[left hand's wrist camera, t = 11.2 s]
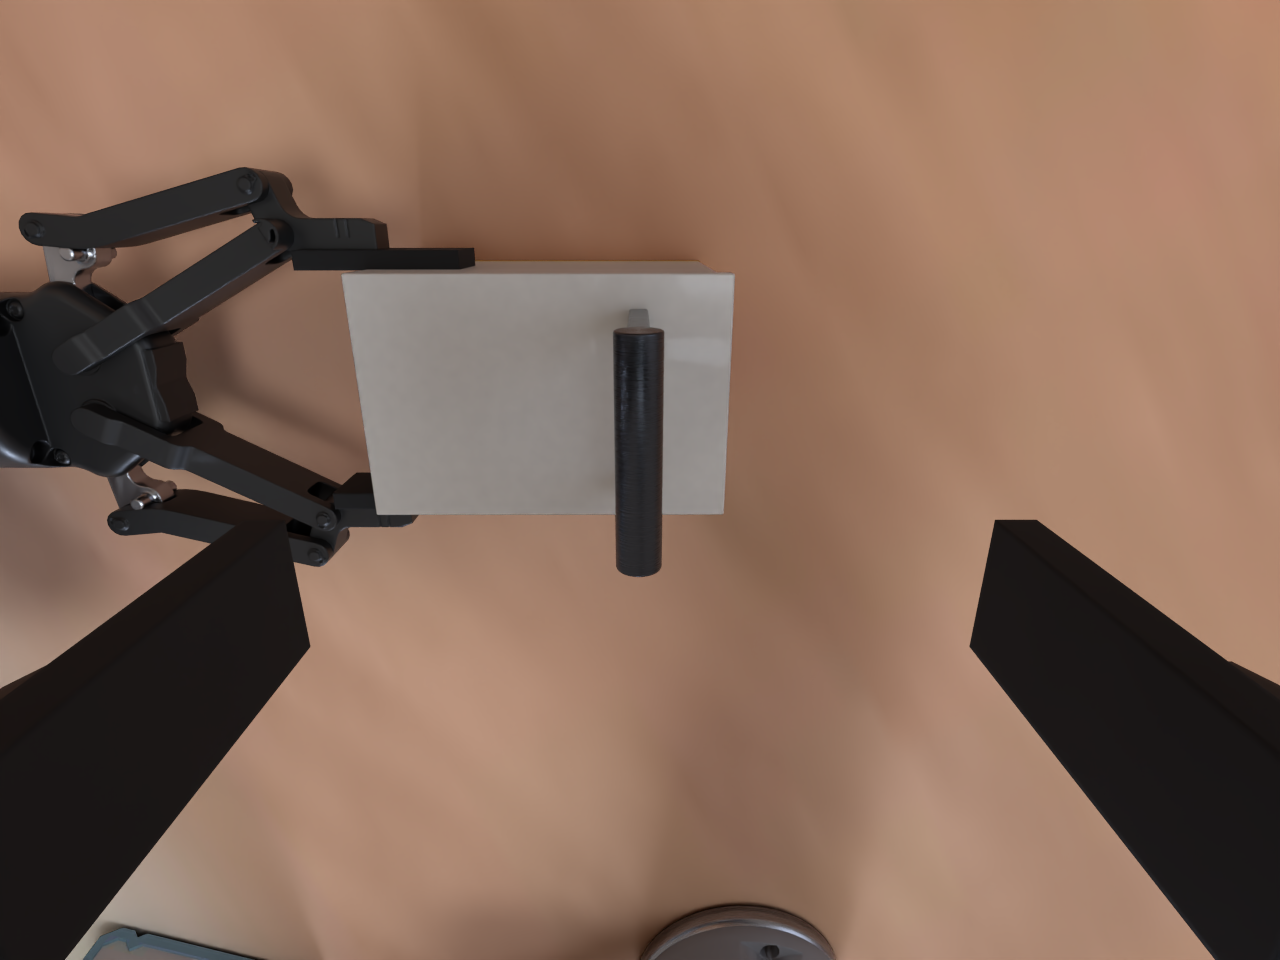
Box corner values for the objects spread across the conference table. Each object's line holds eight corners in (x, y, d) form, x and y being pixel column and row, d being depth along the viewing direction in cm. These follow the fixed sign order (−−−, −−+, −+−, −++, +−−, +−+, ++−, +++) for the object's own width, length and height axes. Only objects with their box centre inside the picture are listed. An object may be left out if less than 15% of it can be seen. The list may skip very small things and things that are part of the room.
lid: (732, 271, 25) (772, 291, 18) (721, 507, 28) (751, 608, 21) (349, 271, 25) (224, 291, 18) (383, 507, 28) (291, 609, 21)
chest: (698, 260, 34) (718, 271, 25) (693, 443, 37) (709, 507, 28) (422, 260, 34) (349, 271, 25) (441, 443, 37) (383, 507, 28)
